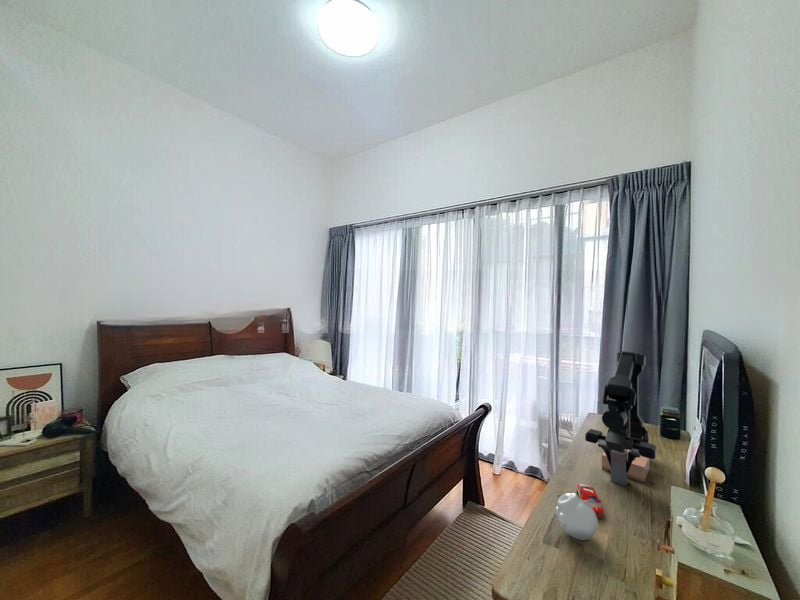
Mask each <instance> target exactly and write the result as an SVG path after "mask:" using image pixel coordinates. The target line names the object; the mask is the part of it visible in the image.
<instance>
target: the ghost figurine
mask: <svg viewBox="0 0 800 600" xmlns="http://www.w3.org/2000/svg"><path fill="white" fill-rule="evenodd" d="M556 502H557V506H555V507H554V509H553V510H554V515H555V517H556V518H557V519H558V522H559V524H560V525H561V527H562V529H563V530H564V532H566V533H567V534H568V535H569V536H570V537H572V538H574V539H577V540H580V541H588V540H590V539H592V538H593V537H595V535H596V534H597V532H598V530H599V528H598V527H599V521H598V519H597V516H596V514H595V512H594V510H593V509H592V508H591V506H590V505H589V504H588V503H586V502H585V501H583V500H581V499H580V498H579V497H578V495H577V493H575V492H570V493H569V492H567V493H564V494H562V495H561V496H560V497H559V498H558V499H557V501H556Z"/></svg>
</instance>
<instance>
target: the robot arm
mask: <svg viewBox="0 0 800 600" xmlns="http://www.w3.org/2000/svg"><path fill="white" fill-rule="evenodd" d="M646 357H647V356H646V355H644V354H642V353H641V352H635V351H619V352H617V353H616V362H617V367H616V370H615V371H616V372H615V374H614V376H613V377H610V378H609V379H608V381H607V383H606V384H605V386H604V390H603V391H604V392H603V397H602V404H603V405H607V410H606V411H604V413H603V414H602V415H601V420H602V423H603V425H604V426H605V427H606V428H607V429H608V430H607V432H606V435H603V431H602V430H601V431H600V430H597V429H592V428H590V429H589V430H588V431H586V433H585V435H584V436H585V438H584V440H585V441H586V442H589V443H592V444H597V443H598V444H597V446H598V447H599V448H601V449H602V450H603V452H605V454H606V456H607V459H608V461H609V464H610V467H611V450H614V451H618V452H620V453H624V452H625V449H626V450H628V449H629V450H630V451H629V453H628V460H627V467H626V470H627V472H628V471H629V469H630V466H631V464H632V462H633V460H634V458H635V457H638V458H639V457H640V456H642V457H646V458H649V460H656V457H657V455H658V451H657V450H658V447H657V446H656V445H655V444H653V443H649V432H648V430H647V427H646V426H645V421H644V419H643V418H642V416H641V415H640V413H639V412H640V410H639V409H640V407H639V406H640V403H639V402H640V400H639V399H640V395H639V394H640V393H639V391H640V389H639V386H640V385H639V382H640V381H639V380H640V379H639V378H640V377H639V376H640V375H641V373H642V372H643V371H644V369H645V367H646V365H647V358H646Z"/></svg>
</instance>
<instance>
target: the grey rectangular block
mask: <svg viewBox="0 0 800 600" xmlns="http://www.w3.org/2000/svg"><path fill="white" fill-rule="evenodd" d="M627 460H628V451H626V450H625V452H624V453H620V452H618V451H614V450H611V472H610V482H612V483H614V484H617V485H620V486H623V487H627V484H628V483H629V478H628V472H627V470H626V467H627Z"/></svg>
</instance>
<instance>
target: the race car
mask: <svg viewBox="0 0 800 600" xmlns="http://www.w3.org/2000/svg"><path fill="white" fill-rule="evenodd" d="M576 494H577V495H578V497H579V498H580V499H581V500H583V501H585V502H586V503H588V504H589V505H590V506H591V508H592V509H593V510H594V512H595V514H596V516H597V520H598V519H599V520H601V519H604V517H605V511H604V509H603V508H604V507H602V506H603V505H602V500H601V499H599V496H598V495H597V492H596V490H595V488H594V487H593V486H592V485H589V484H583V483H579V484H577V487H576Z"/></svg>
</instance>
